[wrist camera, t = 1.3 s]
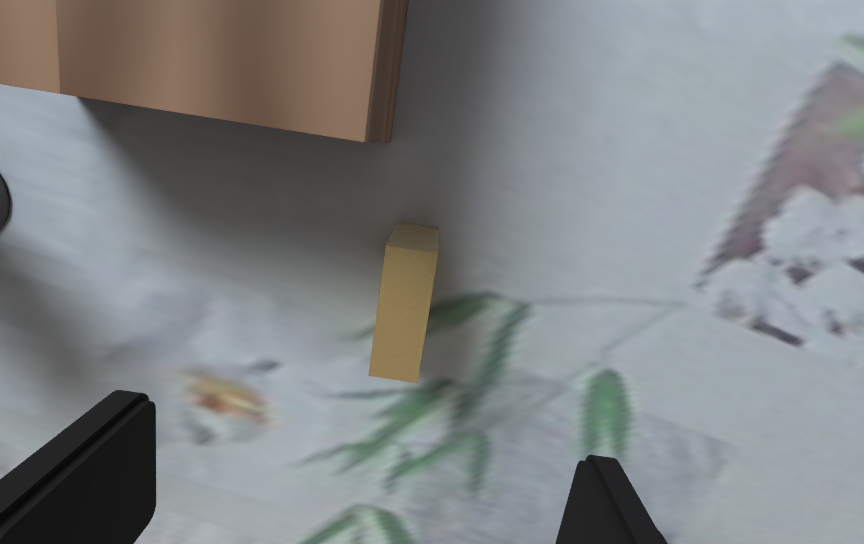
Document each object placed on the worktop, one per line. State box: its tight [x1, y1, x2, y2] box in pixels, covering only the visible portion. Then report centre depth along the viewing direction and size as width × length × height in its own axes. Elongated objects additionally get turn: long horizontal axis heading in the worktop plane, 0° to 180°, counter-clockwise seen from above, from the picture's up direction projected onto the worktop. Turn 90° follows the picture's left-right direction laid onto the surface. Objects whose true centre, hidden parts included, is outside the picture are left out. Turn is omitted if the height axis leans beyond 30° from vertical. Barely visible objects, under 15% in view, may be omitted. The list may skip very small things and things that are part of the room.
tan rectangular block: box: [369, 222, 439, 383], centre depth 23 cm, size 2×6×6 cm, turn 171°
